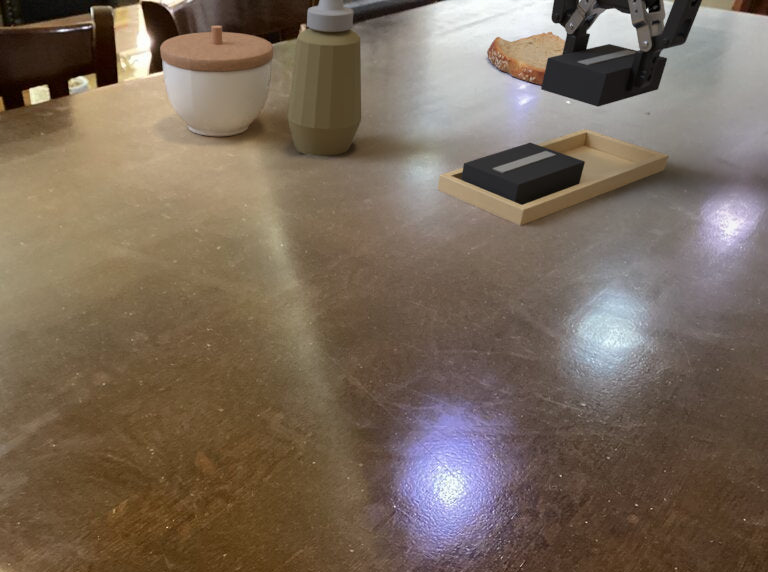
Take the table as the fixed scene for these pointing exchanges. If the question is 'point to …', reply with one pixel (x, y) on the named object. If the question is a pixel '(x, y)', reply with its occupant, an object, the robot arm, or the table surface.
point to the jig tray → (600, 175)
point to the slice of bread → (525, 55)
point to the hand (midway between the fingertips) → (601, 81)
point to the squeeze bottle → (326, 82)
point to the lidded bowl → (217, 79)
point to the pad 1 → (524, 173)
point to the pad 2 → (596, 75)
